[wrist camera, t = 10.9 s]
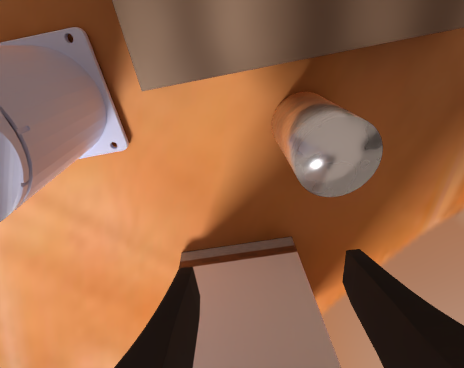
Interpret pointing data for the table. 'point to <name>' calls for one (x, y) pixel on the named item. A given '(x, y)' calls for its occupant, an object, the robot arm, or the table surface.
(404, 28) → the housing block
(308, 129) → the shiny metal cylinder
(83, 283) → the table surface
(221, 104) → the table surface
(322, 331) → the tall white column
